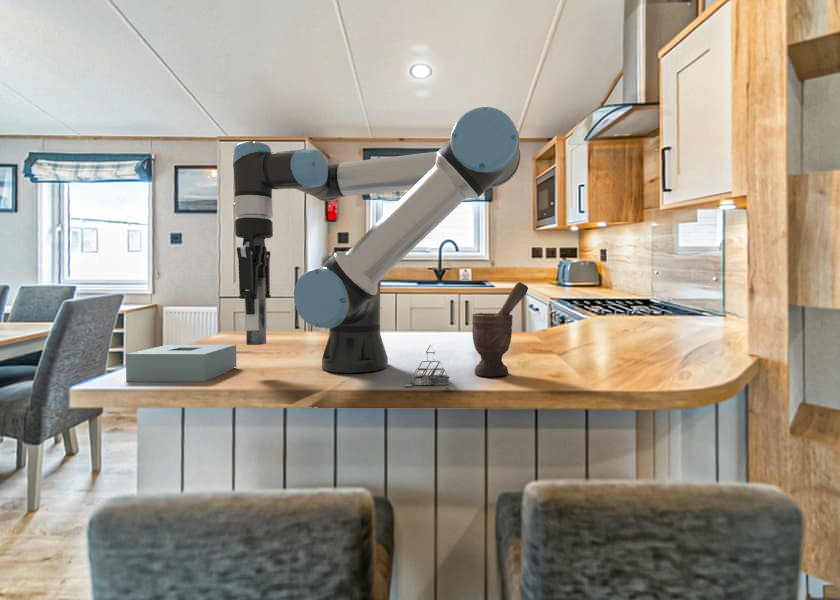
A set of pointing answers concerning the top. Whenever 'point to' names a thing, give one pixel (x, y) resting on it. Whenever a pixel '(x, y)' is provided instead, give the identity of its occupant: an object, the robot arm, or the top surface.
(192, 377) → the bore block
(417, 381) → the house of cards
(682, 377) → the top surface
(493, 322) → the mortar and pestle
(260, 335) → the pin
